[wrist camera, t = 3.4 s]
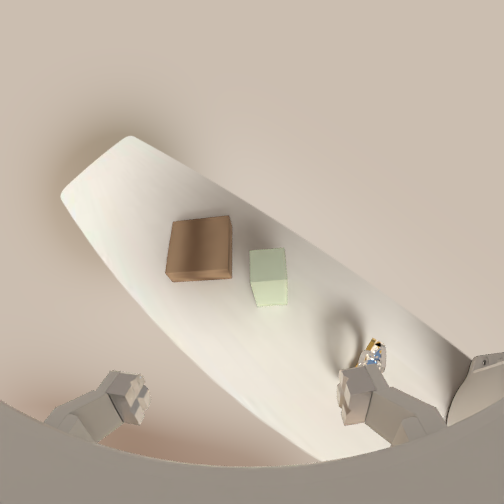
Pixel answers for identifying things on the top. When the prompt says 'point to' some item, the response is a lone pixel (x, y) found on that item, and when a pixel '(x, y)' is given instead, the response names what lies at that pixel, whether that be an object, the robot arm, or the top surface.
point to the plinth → (200, 250)
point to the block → (268, 276)
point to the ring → (373, 355)
